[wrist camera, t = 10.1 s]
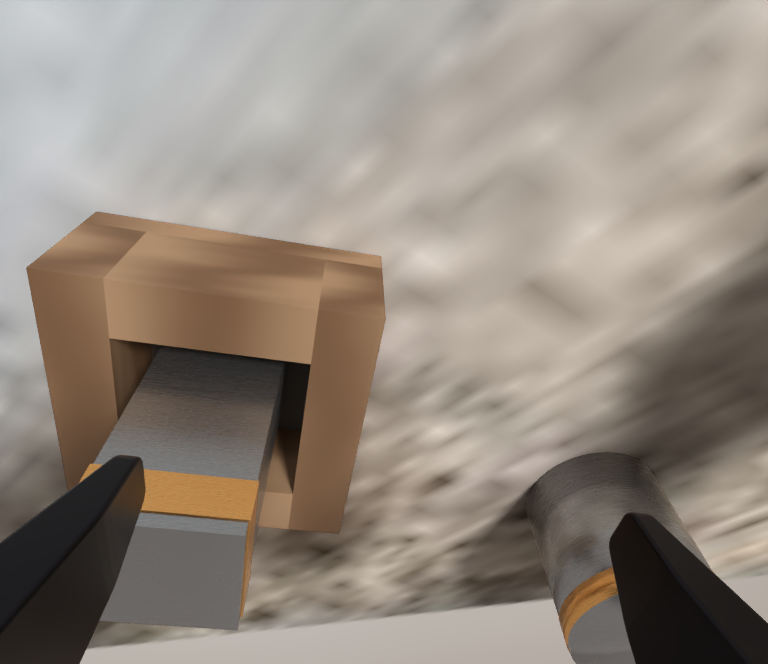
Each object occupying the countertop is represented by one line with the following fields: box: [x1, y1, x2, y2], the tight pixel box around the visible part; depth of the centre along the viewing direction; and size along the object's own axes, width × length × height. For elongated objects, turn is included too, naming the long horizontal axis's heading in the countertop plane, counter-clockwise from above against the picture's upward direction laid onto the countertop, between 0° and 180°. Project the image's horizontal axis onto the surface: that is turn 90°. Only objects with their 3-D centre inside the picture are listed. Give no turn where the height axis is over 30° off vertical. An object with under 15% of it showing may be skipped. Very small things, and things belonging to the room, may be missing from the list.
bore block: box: [27, 212, 386, 534], centre depth 20 cm, size 10×10×4 cm
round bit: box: [526, 452, 715, 664], centre depth 24 cm, size 7×7×7 cm
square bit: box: [79, 345, 287, 630], centre depth 17 cm, size 4×4×9 cm
